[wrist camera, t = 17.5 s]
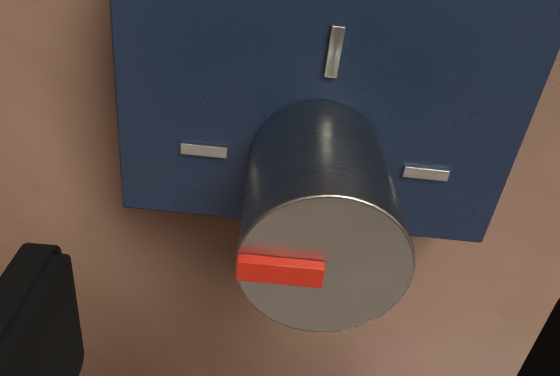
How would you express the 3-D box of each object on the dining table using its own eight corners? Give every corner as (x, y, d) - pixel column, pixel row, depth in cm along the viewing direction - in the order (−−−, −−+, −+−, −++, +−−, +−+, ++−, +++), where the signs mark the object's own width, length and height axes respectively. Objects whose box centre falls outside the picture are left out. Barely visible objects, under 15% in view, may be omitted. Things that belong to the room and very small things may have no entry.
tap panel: (534, -26, 16) (584, -3, 13) (446, 228, 21) (469, 282, 18) (136, -74, 15) (102, -61, 12) (146, 198, 20) (123, 249, 18)
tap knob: (395, 107, 15) (440, 214, 10) (367, 220, 17) (395, 349, 12) (255, 92, 15) (240, 193, 10) (245, 208, 17) (228, 335, 12)
